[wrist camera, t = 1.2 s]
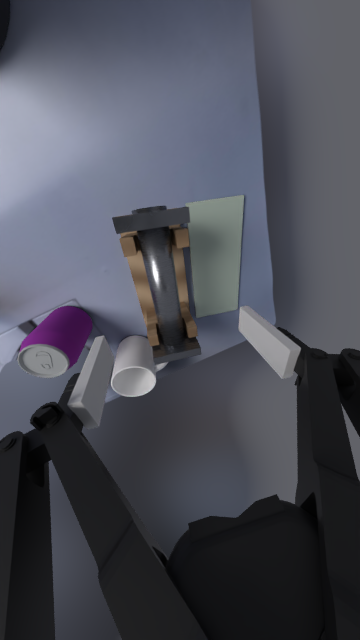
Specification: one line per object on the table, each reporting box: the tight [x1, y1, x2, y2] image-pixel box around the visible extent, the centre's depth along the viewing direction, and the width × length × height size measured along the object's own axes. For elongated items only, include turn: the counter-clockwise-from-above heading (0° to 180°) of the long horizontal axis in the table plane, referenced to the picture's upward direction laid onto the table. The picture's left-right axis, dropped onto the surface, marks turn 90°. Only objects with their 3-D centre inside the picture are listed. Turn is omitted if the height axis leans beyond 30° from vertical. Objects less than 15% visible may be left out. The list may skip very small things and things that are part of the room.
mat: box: [186, 195, 244, 318], centre depth 34 cm, size 22×10×1 cm, turn 7°
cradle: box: [119, 208, 198, 346], centre depth 28 cm, size 21×10×11 cm, turn 7°
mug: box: [111, 335, 168, 397], centre depth 36 cm, size 12×8×10 cm
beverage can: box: [17, 306, 92, 378], centre depth 29 cm, size 8×8×12 cm
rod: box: [112, 206, 201, 365], centre depth 25 cm, size 21×8×8 cm, turn 7°
